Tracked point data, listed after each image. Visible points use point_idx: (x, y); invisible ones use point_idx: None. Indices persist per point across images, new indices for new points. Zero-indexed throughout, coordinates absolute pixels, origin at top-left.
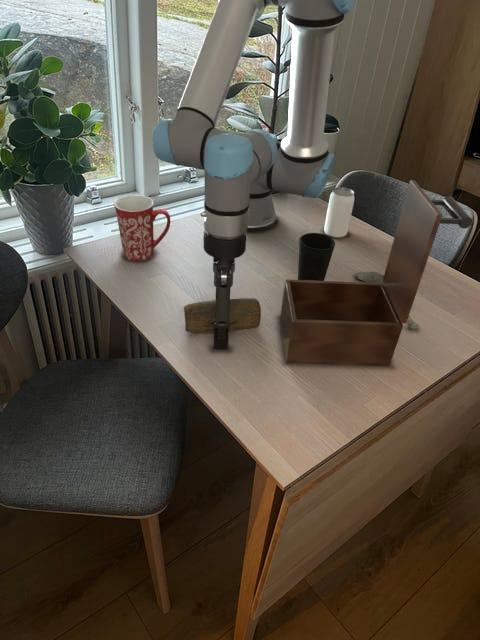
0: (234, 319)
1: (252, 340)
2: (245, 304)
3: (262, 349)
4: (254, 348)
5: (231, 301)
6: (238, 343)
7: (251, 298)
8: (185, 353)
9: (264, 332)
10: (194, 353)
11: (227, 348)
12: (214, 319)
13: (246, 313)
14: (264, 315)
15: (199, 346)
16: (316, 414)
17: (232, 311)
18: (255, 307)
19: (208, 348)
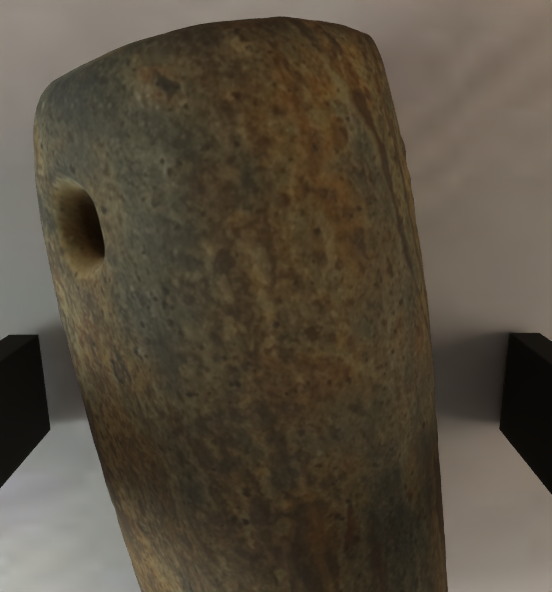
0: (430, 352)
1: (418, 135)
2: (302, 257)
3: (537, 50)
4: (520, 121)
5: (260, 456)
6: (453, 250)
7: (120, 157)
8: (540, 582)
9: (308, 19)
10: (544, 534)
11: (544, 339)
12: (440, 546)
13: (401, 228)
14: (56, 6)
15: (476, 509)
16: None
17: (393, 409)
18: (313, 97)
19: (500, 455)
